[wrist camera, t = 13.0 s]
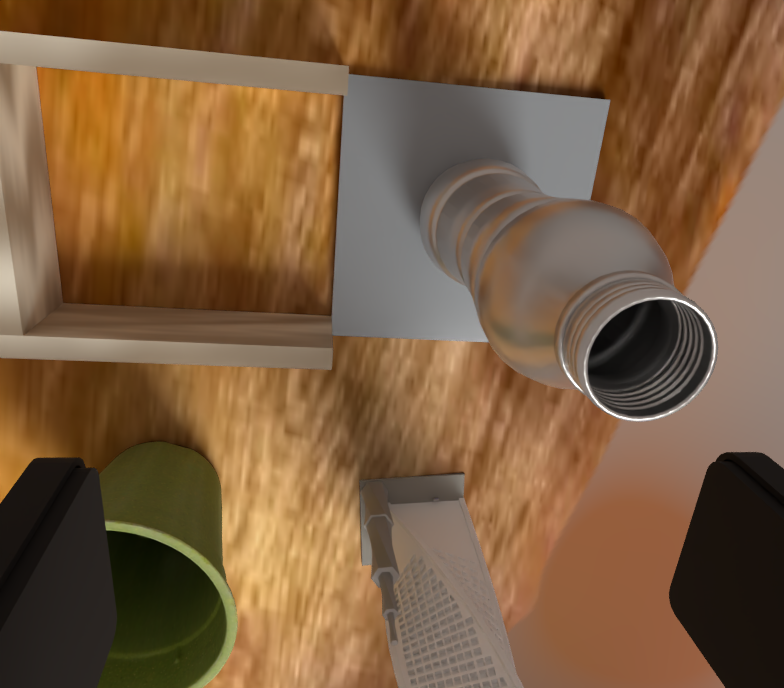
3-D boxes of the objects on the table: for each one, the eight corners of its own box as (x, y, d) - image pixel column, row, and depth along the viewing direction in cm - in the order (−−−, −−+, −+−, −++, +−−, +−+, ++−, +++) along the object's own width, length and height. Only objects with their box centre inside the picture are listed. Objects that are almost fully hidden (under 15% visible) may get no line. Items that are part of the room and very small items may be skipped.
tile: (344, 74, 31) (345, 73, 31) (605, 99, 33) (610, 99, 33) (330, 331, 36) (330, 335, 36) (557, 341, 38) (560, 345, 38)
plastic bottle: (458, 128, 32) (639, 176, 14) (554, 199, 34) (825, 324, 16) (389, 231, 34) (470, 395, 16) (485, 293, 36) (658, 505, 18)
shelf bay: (5, 35, 29) (-54, 25, 25) (344, 69, 31) (348, 65, 27) (42, 322, 34) (-1, 357, 30) (330, 334, 37) (331, 369, 32)
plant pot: (296, 474, 40) (288, 609, 30) (184, 588, 42) (139, 748, 32) (139, 366, 36) (66, 476, 26) (26, 497, 39) (-83, 647, 28)
